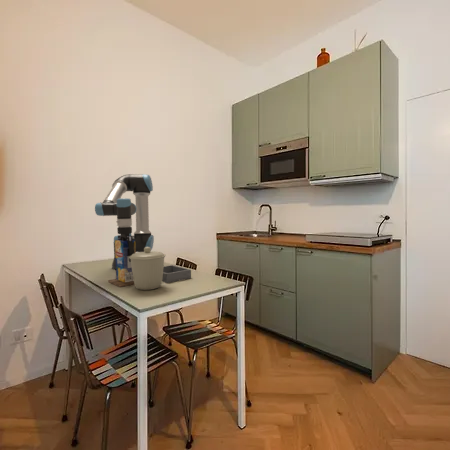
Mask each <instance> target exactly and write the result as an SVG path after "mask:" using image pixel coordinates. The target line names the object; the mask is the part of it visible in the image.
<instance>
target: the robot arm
mask: <svg viewBox="0 0 450 450" xmlns="http://www.w3.org/2000/svg"><path fill="white" fill-rule="evenodd" d="M153 189H154V186H153V181H152V177H151V175H150V174H144V173H139V174H137V173H135V174H133V173H132V174H131V173H130V174H123V175H121V176H120V177H118V178H116V179H115V180H114V181H113V183H112V184H111V189H110V191H108V193H107V195H106V197H105V198H104V199H103V201H102V202H96V204H94V211H95V215H96V216H97V217H98V216H99V217H101V216H102V217H108V216H109V217H110V216H115V217H116V223H117V225H116V226H118V227H117V235H115V236H114V237H113V259H112V264H111V269H113V270H116V256H115V240H123V241H127V243H128V248H129V249H127V253H128V255H127V261H128V268H132V267H131V259H130V258H129V256H131V255H132V254H134V253H135V252H134V246H133V240H135V251H136V253H138V252H144V248H145V247H150V248H151V251H153V248H154V244H155V243H154V242H155V241H154V240H155V238H154V237H155V236H154V235H152V232H151V231H150V230H149V229H150V228H149V227H150V225H149V224H150V223H149V222H150V219H149V218H150V217H149V215H150V214H149V196H150V195H151V192H153V191H154V190H153ZM126 192H132V194H133V196H134V197H135V203H133V202H132V199H131V198H126V197H125V198H124V197H123V198H122V196H123V194H126ZM133 215H135V231H134V232H133V228H132V226H133V225H132V224H133V221H132V220H133V219H132V216H133ZM132 233H133V235H132Z"/></svg>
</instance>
